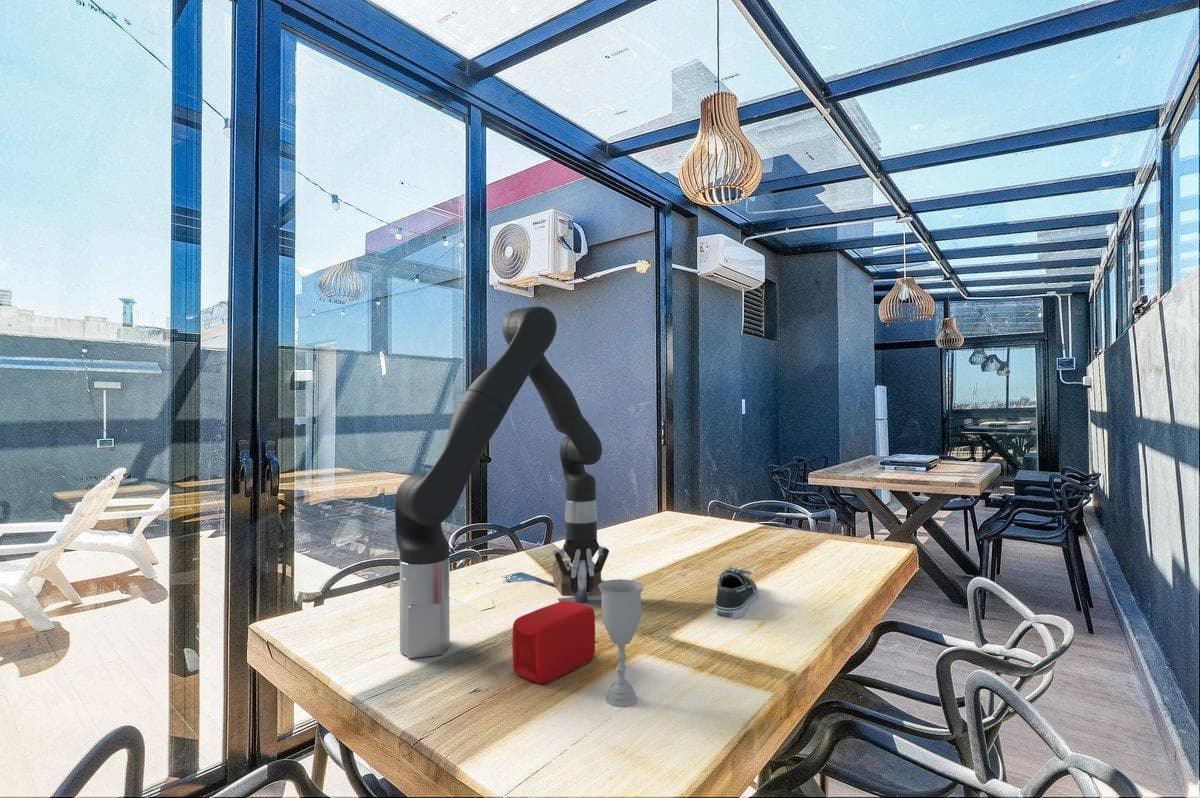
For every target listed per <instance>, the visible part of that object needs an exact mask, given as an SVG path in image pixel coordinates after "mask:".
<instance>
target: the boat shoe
mask: <svg viewBox="0 0 1200 798" xmlns="http://www.w3.org/2000/svg"><path fill="white" fill-rule="evenodd" d="M751 574H752V571H750V570H747V569H745V568H744V569H743V568H738V567H736V566H735V567H732V566H727V567H726V568H725V569H723V570H722V571H721V572H720V574H719V577H718V580H717V582H716V589H717V593H716V598H715V604H714V612H713V613H714V615H715V614H716V615H717V616H716V615H715V616H716V617H718V616H720V617H724V618H737V619H740V618H742V617H744V615H745V614H746V613H745V612H747V611H748V609H749V608H750V607H751V606H752V605H753V604H755V603H756V602H755V601H756V600H758V599H759V589H758V586H757V584H756V583H755V581H754V580H753V579H752V578H750V577H749V576H750V575H751ZM748 575H749V576H748ZM757 598H758V599H757ZM754 602H755V603H754ZM752 603H753V604H752ZM751 604H752V605H751ZM750 605H751V606H750ZM748 607H749V608H748ZM747 608H748V609H747ZM746 610H747V611H746ZM720 617H719V618H720ZM739 617H740V618H739ZM724 618H723V619H724Z"/></svg>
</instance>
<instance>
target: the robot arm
mask: <svg viewBox="0 0 1200 798" xmlns="http://www.w3.org/2000/svg"><path fill="white" fill-rule="evenodd" d="M501 326H502V327H501V330H502V334H503V338H504V340H505V342H506V343H507V348H506V350H504V352H503V353H502V355H500V356H499V358H498V359H496V360H495V362H493V363H492V364H491V365H489V366H488V368H487V369H485V370H484V371H483V372H482V373H481V374H480V375H478V377H476V379H474V381H472V383H471V384H470V386H469V387H468V389H467V390H466V392H465V394H464V395H463V396H462V398H461V399H460V401H459V403H458V404H457V406H456V407H455V410H454V412H453V415H452V417H451V422H450V424H449V425H450V426H449V430H448V435H447V439H446V443H445V445H444V447H443V449H442V451H441V454H440V455H439V456H438V458H437V459H436V461H435V462H434V465H433V466H432V467H431V468H430V470H429V472H427V474H423V473H417V474H413V475H412V474H411V475H409V476H408V477H406V478H405V479H404V480H403V481H402V482H401V483H400V484H399V486H398V488H397V490H396V494H395V500H394V501H395V502H394V518H395V521H394V522H395V523H394V524H395V525H394V526H395V539H396V544H397V548H398V552H399V652H400V653H401V654H402V655H404V656H406V657H407V659H414V658H415V659H416V658H424V657H432V656H433V657H435V656H442V654H443V652H445V651H446V650H448V648H449V647H450V639H451V638H450V630H451V629H450V597H449V590H450V543H449V541H448V540H447V538H446V536H445V533H444V531H443V528H442V523H443V522H445V521H446V520H447V519H448V518H450V516H451V515H452V513H453V512H454V510H455V508H456V506H457V504H458V502H459V501H460V498H461V496H462V493H463V491H464V489H465V487H466V485H467V483H468V480H469V478H470V476H471V474H472V472H473V470H474V469H475V467H476V465H477V463H478V461H479V459H480V458H481V456H482V455H483V453H484V451H485V449H486V448H487V446H488V444H489V443H490V441H491V439H492V438H493V436H494V434H495V433H496V431H497V429H499V426H500V425H501V423H502V422H503V420H504V418H505V416H506V414H507V413H508V411H509V409H510V407H511V404H512V403H513V401H514V400H515V398H516V397H517V395H518V394H519V391H520V390H521V388H522V387H523V385H524V383H525V382H526V380H527V378H529V380H530V381H531V382H532V384H533V386H534V388H535V389H536V391H537V392H538V394H539V396H540V398H541V400H542V402H543V405H544V408H545V409H546V411H547V413H548V416H549V418H550V420H551V422H552V424H553V426H554V427H553V428H554V429H555V430H556V431H557V432H559V433H561V434H564V435H566V436H564V437H563V439H562V441H560V442H561V443H560V445H559V451H558V452H559V459H560V463H561V468H562V469H561V470H562V472H563V476H564V479H565V483H566V484H565V486H566V487H565V489H566V490H565V492H566V494H565V499H566V500H565V509H564V520H565V521H564V525H565V526H564V527H565V530H564V534H565V535H564V536H565V537H564V539H565V541H564V544H563V547H562V548H560V549H558V550H557V549H556V550H555V549H554V550H553V551H552V554H553V555H552V556H554V559H555V562H557V564H558V566H559V568H560V570H561V572H562V573H563V575H564V576H569V589H570V590H571V591H572V593H573V594H574V595H575V593H576V577H575V576H576V571H577V568H578V562H579V560H587V567H588V592H591V589H593V587H594V585H593V584H594V582H593V577H594V575H595V574H597V573H601V574H602V571H603V568H604V566H605V563H606V561H607V558H608V556H609V553H610V549H608V548H607V547H606V546H601V545H600V544H599V542H598V509H597V507H598V505H597V499H596V498H597V496H596V495H597V494H596V489H597V484H596V483H597V482H596V478H595V477H594V476H593V475H592V474H590V473H588V472H587V471H586V468H585V466H591V465H595V464H597V463H598V462H599V461H600V460H601V457H602V455H603V445H602V442H601V439H600V437H599V435H598V434H597V432H596V431H595V430H594V428H593V427H592V426H591V425H590V423H589V422H588V420H587V419H586V418H585V417H584V415H583V414H582V411H581V409H580V407H579V404H578V402H577V400H576V398H575V395H574V393H573V391H572V389H571V388H570V386H568V384H567V383H566V382H565V380H564V378H562V377H561V376H560V374H559V373H558V372H557V371H556V370H555V369H554V368H553V366H552V364H550V362H549V361H548V359H547V358H546V355H545V353H546V351H547V350H548V349H549V347H550V346H551V344H552V343H553V341H554V339H555V337H556V333H557V327H558V326H557V319H556V316H555V315H554V313H553V312H552V311H551V309H549V308H547V307H543V306H529V307H522V308H516V309H513V310H511V311H509V312H507V313H506V315H505V316H504V317H503V320H502V325H501ZM565 554H566V555H567V556H568V558H569V561H570V563H569V565H570V566H569V570H568V569H566V566H565V564H564V562H563V561H564V558H565ZM595 554H597V555H598V556H597V560H596V561H595V566H594V567H593V562H594V561H593V558H594V556H595Z"/></svg>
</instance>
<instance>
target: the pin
mask: <svg viewBox="0 0 1200 798" xmlns="http://www.w3.org/2000/svg"><path fill="white" fill-rule="evenodd" d="M575 577H576V593H575V594H574V597H575V602H576V603H586V602H588V596H589V595H588V594H589V593H588V567H587V560H579V562H578V568H577V571H576V576H575Z"/></svg>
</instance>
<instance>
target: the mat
mask: <svg viewBox="0 0 1200 798" xmlns="http://www.w3.org/2000/svg"><path fill="white" fill-rule="evenodd" d="M557 600H558V602H561V601H571V602H575V596H572V597H571V596H570V597H559V598H557ZM580 604H583V605H586V606H589V607H592V606H599V605H601V606H602V597H600V596H599V594H593V595H588V602H586V603H580Z"/></svg>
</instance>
